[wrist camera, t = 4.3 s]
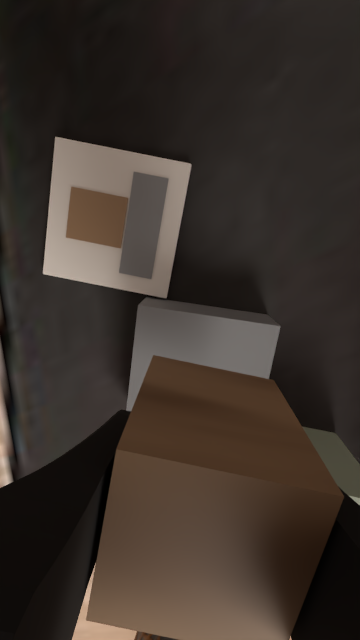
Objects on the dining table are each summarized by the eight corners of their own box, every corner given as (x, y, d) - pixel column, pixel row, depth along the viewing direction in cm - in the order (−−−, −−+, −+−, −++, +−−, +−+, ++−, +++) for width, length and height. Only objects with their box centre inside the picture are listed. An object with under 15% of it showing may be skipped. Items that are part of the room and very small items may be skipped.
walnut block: (243, 482, 12) (280, 660, 7) (133, 459, 12) (85, 620, 7) (273, 380, 11) (344, 496, 6) (153, 355, 11) (116, 449, 6)
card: (166, 297, 18) (166, 298, 17) (46, 273, 18) (41, 274, 17) (191, 165, 16) (191, 163, 16) (58, 139, 16) (54, 135, 16)
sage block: (314, 492, 20) (357, 581, 15) (246, 479, 20) (265, 562, 15) (335, 432, 19) (390, 504, 14) (263, 418, 19) (290, 484, 14)
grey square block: (244, 421, 20) (252, 451, 17) (134, 404, 20) (123, 431, 17) (266, 313, 18) (280, 326, 15) (147, 295, 18) (137, 305, 15)
